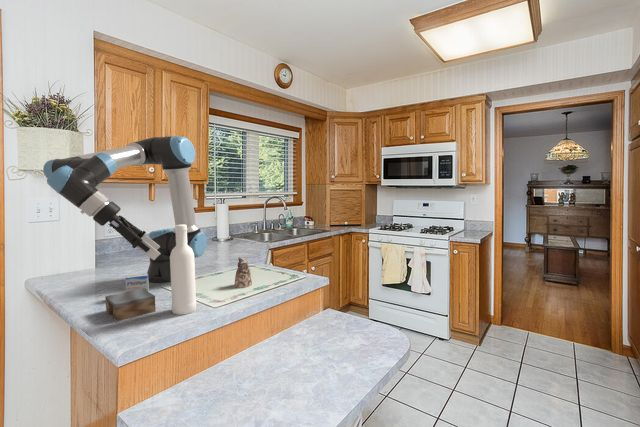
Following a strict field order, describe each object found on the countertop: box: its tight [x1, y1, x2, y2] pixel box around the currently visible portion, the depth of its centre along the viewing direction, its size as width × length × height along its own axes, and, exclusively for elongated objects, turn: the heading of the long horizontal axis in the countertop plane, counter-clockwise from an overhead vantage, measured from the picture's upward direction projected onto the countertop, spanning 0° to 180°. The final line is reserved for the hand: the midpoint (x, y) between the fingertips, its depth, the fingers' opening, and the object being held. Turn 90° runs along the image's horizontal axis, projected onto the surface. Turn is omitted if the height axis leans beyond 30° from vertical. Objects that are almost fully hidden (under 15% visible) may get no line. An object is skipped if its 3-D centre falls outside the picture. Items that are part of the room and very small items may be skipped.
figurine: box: [234, 257, 253, 289], centre depth 147 cm, size 7×7×12 cm
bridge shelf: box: [104, 289, 157, 322], centre depth 117 cm, size 12×12×6 cm
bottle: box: [170, 225, 197, 316], centre depth 117 cm, size 8×8×30 cm
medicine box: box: [124, 273, 150, 293], centre depth 133 cm, size 8×4×9 cm, turn 118°
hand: (157, 253), depth 112 cm, fingers open, 13 cm apart
